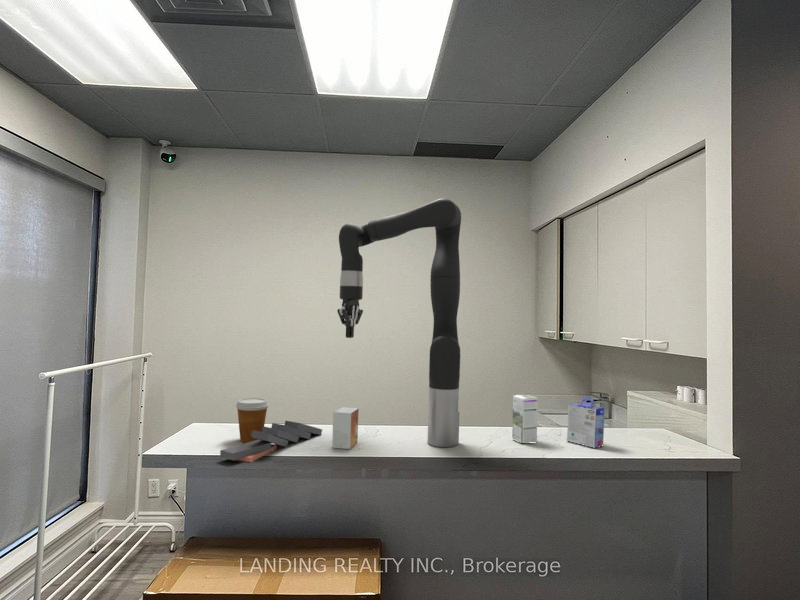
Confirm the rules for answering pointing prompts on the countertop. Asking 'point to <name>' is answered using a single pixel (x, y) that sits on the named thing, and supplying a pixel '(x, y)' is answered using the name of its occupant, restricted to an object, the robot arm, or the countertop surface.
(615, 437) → the countertop surface
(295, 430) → the domino
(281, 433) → the domino
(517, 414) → the syrup box
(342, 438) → the small box
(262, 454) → the domino
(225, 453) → the domino
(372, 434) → the countertop surface
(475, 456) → the countertop surface
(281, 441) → the domino
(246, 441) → the disposable coffee cup
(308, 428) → the domino
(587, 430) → the ink cartridge box
